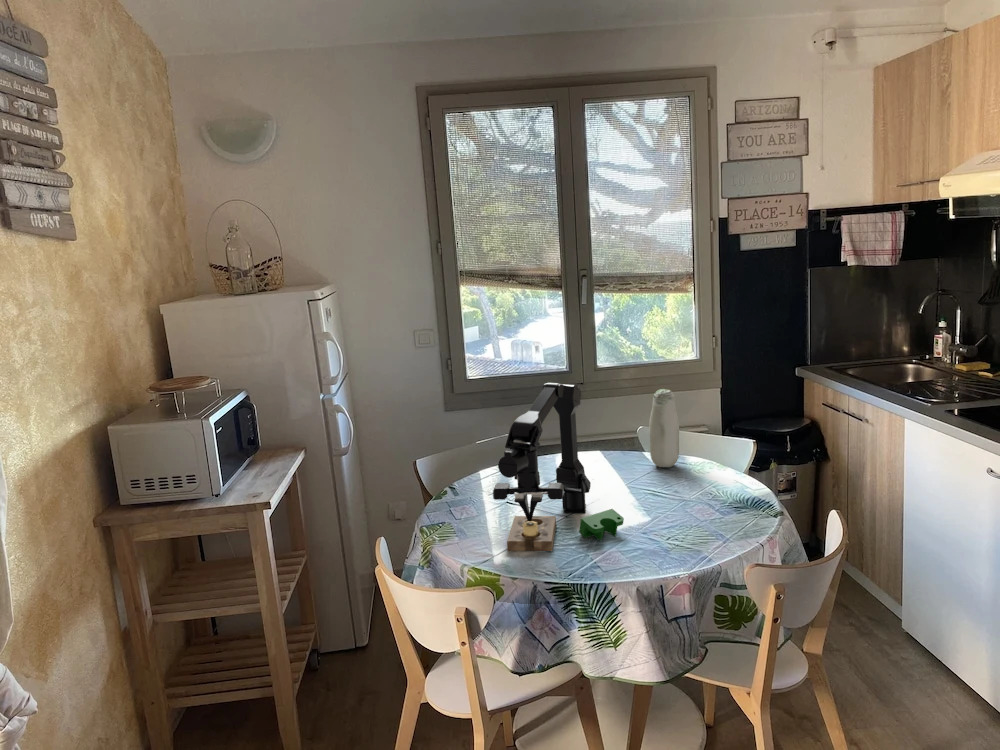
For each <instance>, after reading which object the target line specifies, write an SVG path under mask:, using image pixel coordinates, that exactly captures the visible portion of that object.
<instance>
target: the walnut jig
mask: <svg viewBox="0 0 1000 750" xmlns="http://www.w3.org/2000/svg"><path fill="white" fill-rule="evenodd" d="M532 521H534V522H537V523H538V537H536V538H525V537H524V534H523V523H525V522H528V520H527V517H526V515H514V517H513V520H512V523H511V527H510V529H509V534H508V537H507V540H506V546H507V547H506V548H507V552H508V551H552V552H553V548H554V541H555V537H554V536H555V535H556V529H557V517H556V515H533V517H532Z"/></svg>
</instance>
